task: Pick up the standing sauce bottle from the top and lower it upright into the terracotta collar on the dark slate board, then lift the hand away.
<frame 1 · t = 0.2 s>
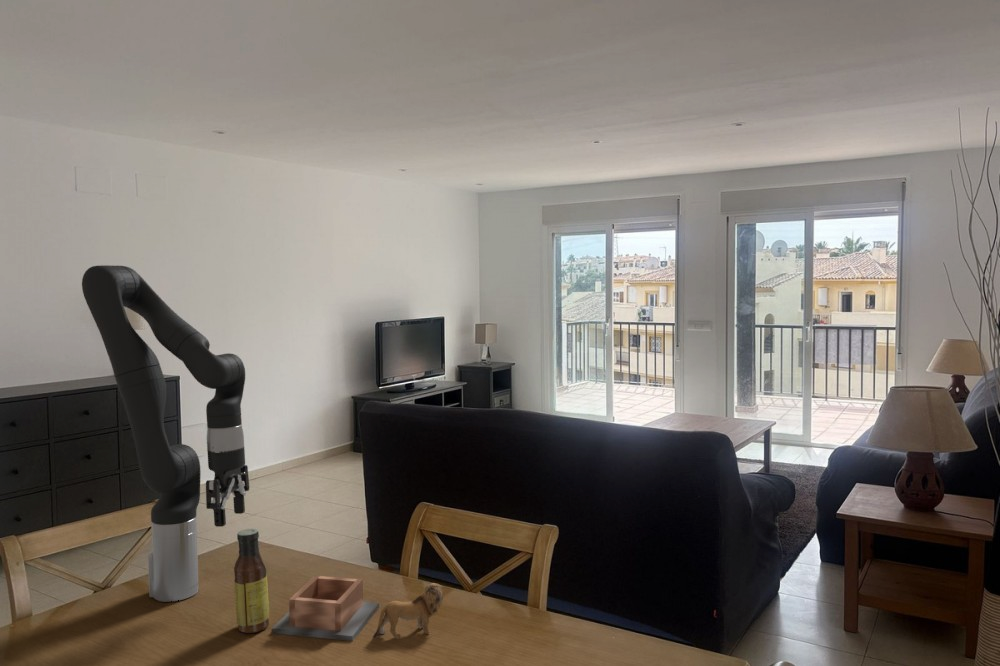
hand: (230, 519, 157), 18 cm above the table, tool pointing down, fingers open, 8 cm apart
lion figurine: (410, 632, 144), on the table
bottle holder: (327, 619, 149), on the table
sauce bottle: (252, 628, 146), on the table
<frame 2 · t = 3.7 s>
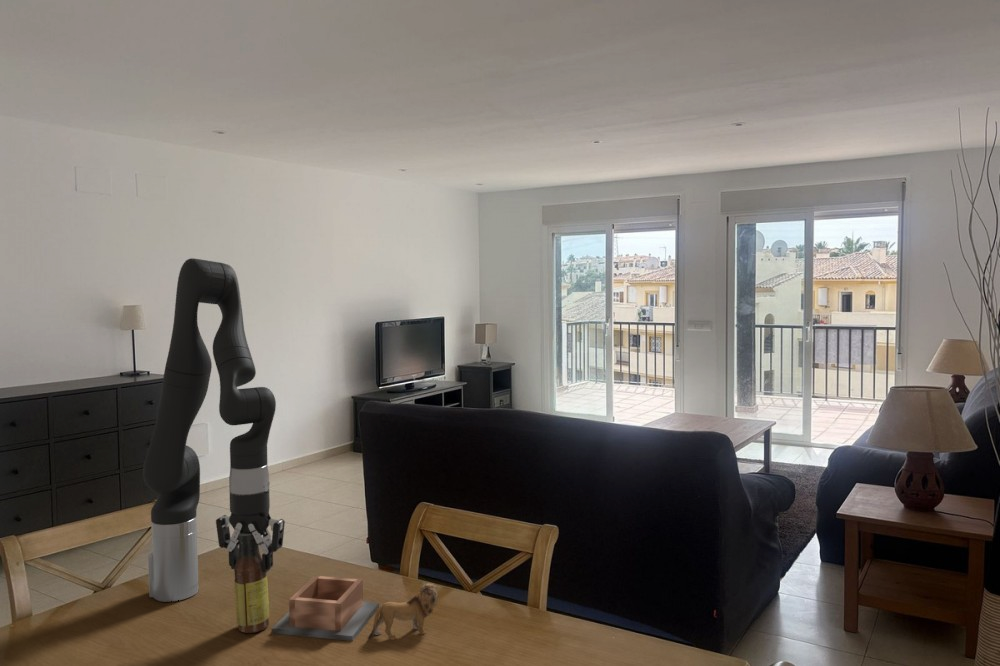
hand: (251, 568, 145), 12 cm above the table, tool pointing down, fingers open, 6 cm apart
sauce bottle: (252, 628, 146), on the table, touching gripper
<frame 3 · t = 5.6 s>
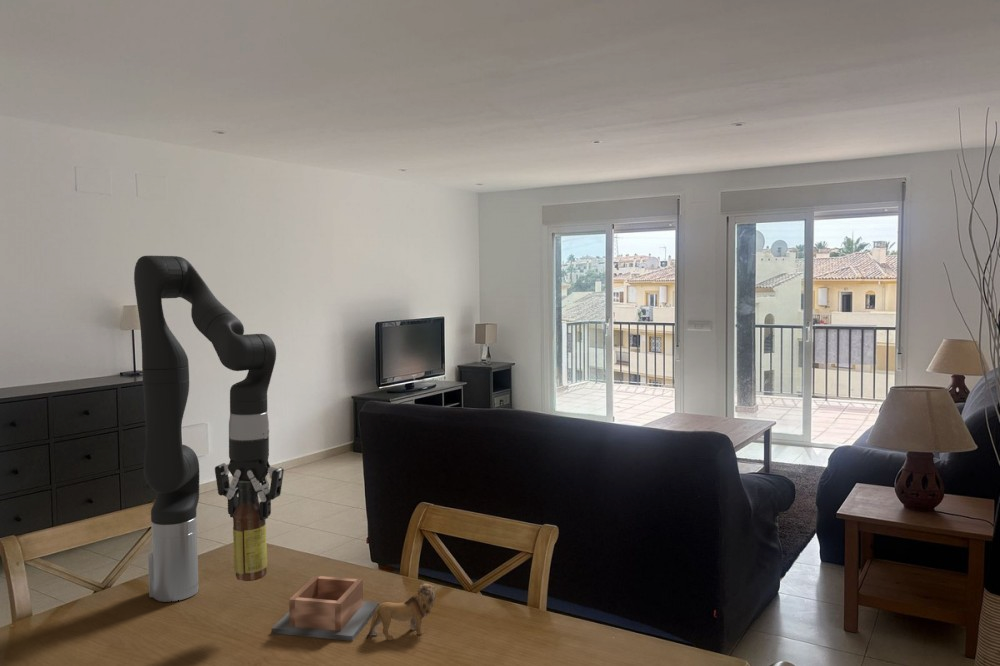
hand: (249, 517, 144), 23 cm above the table, tool pointing down, fingers closed on sauce bottle, 6 cm apart
sauce bottle: (250, 577, 145), point 10 cm above the table, touching gripper
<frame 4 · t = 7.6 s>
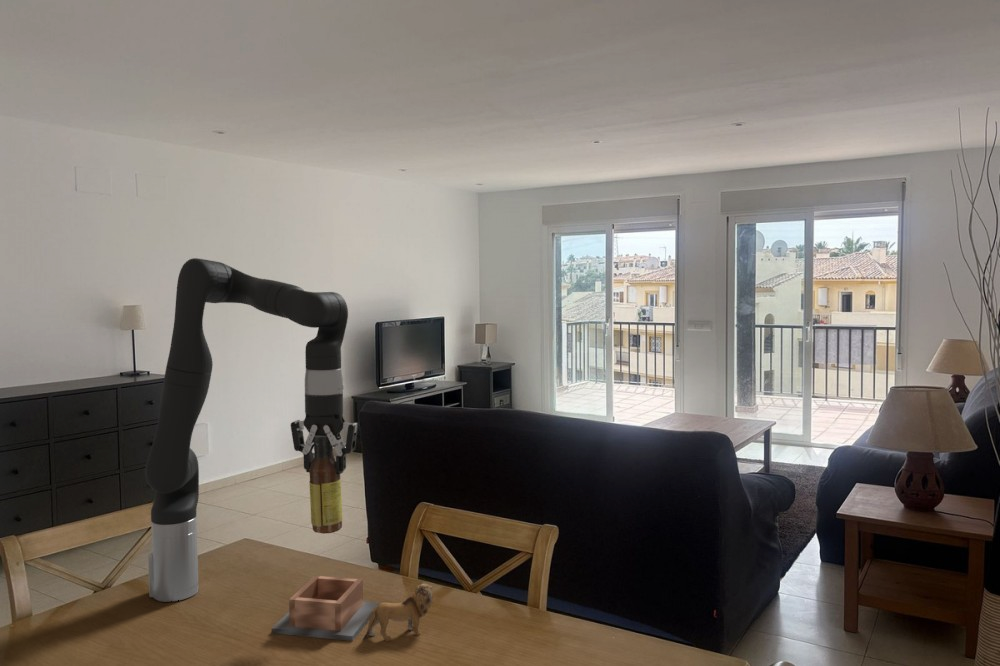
hand: (325, 472, 147), 31 cm above the table, tool pointing down, fingers closed on sauce bottle, 6 cm apart
sauce bottle: (326, 530, 148), point 19 cm above the table, touching gripper
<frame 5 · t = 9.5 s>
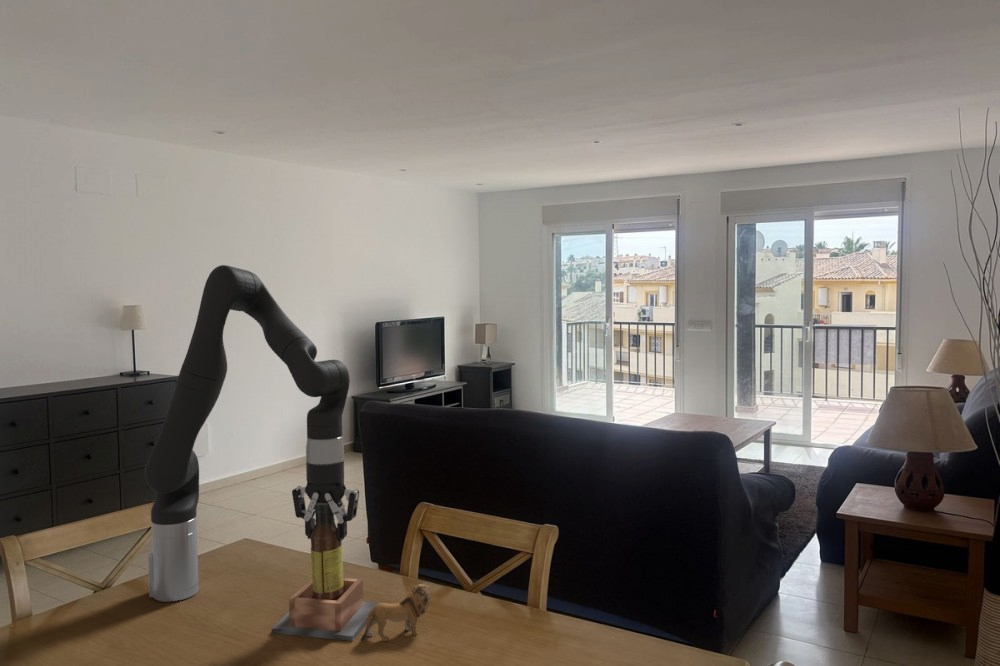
hand: (326, 538, 148), 17 cm above the table, tool pointing down, fingers closed on sauce bottle, 6 cm apart
sauce bottle: (327, 596, 149), point 5 cm above the table, touching gripper
when the fingers open (14 cm above the table, at t = 11.0 s): sauce bottle drops 1 cm, resting on bottle holder.
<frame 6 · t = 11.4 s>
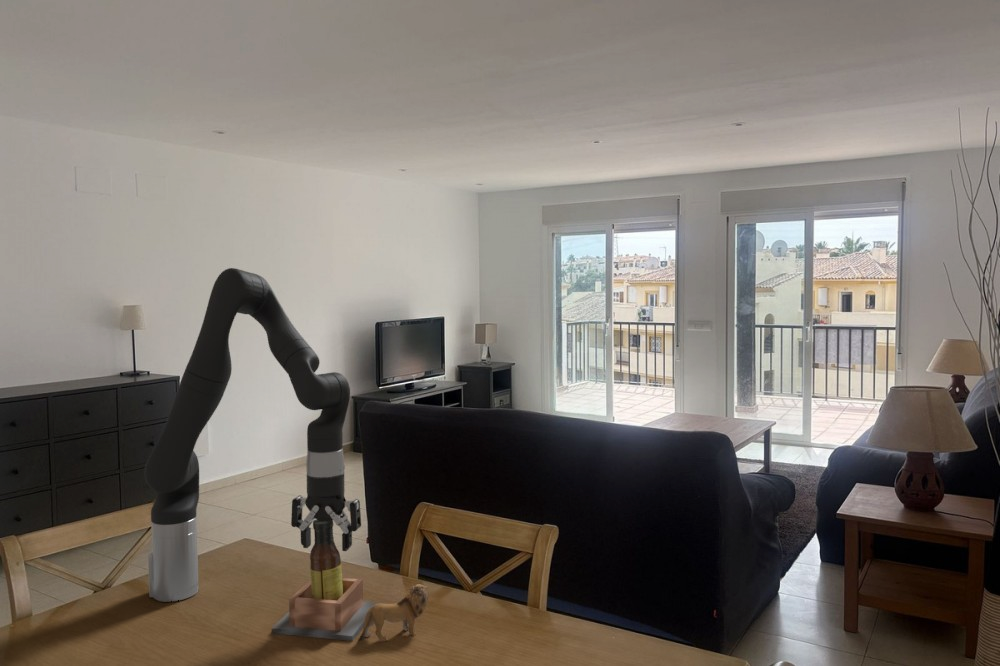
hand: (326, 548, 148), 15 cm above the table, tool pointing down, fingers open, 8 cm apart
sauce bottle: (327, 615, 149), point 1 cm above the table, touching bottle holder
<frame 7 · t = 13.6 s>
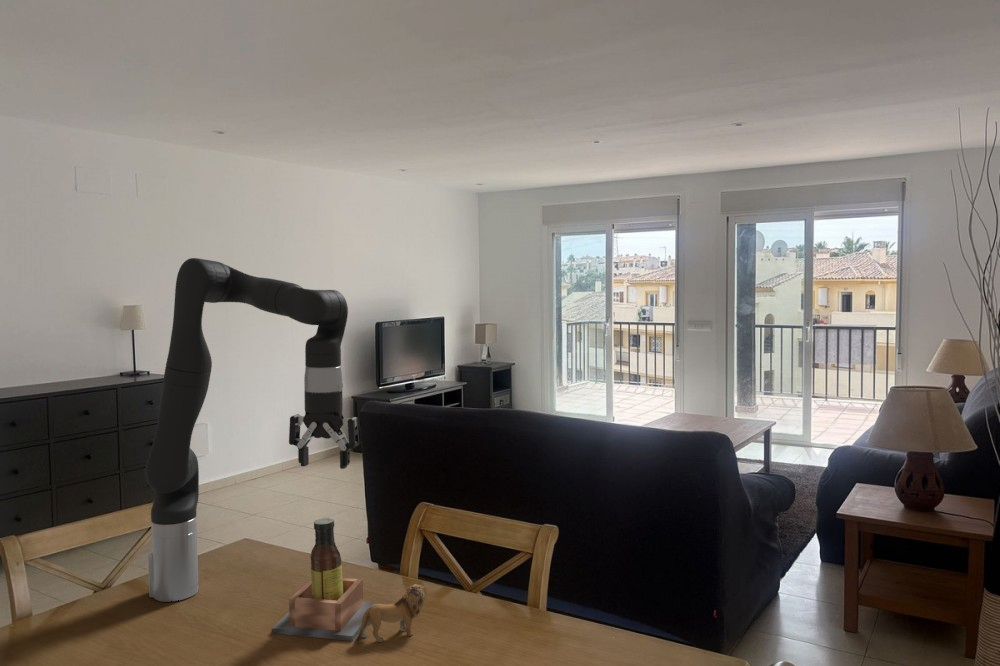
hand: (324, 466, 147), 32 cm above the table, tool pointing down, fingers open, 8 cm apart
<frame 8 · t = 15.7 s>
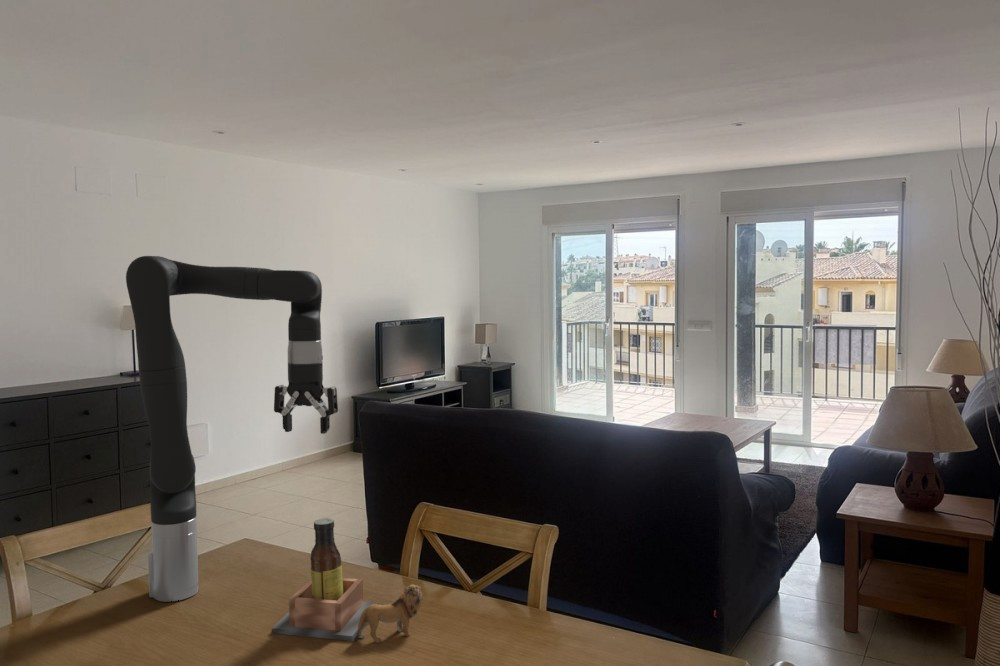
hand: (306, 432, 162), 36 cm above the table, tool pointing down, fingers open, 8 cm apart
at the end: sauce bottle 0.1 cm off-centre on the bottle holder, point 0.8 cm above the bottle holder's base; sauce bottle tilted 0°; the gripper is holding nothing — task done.
